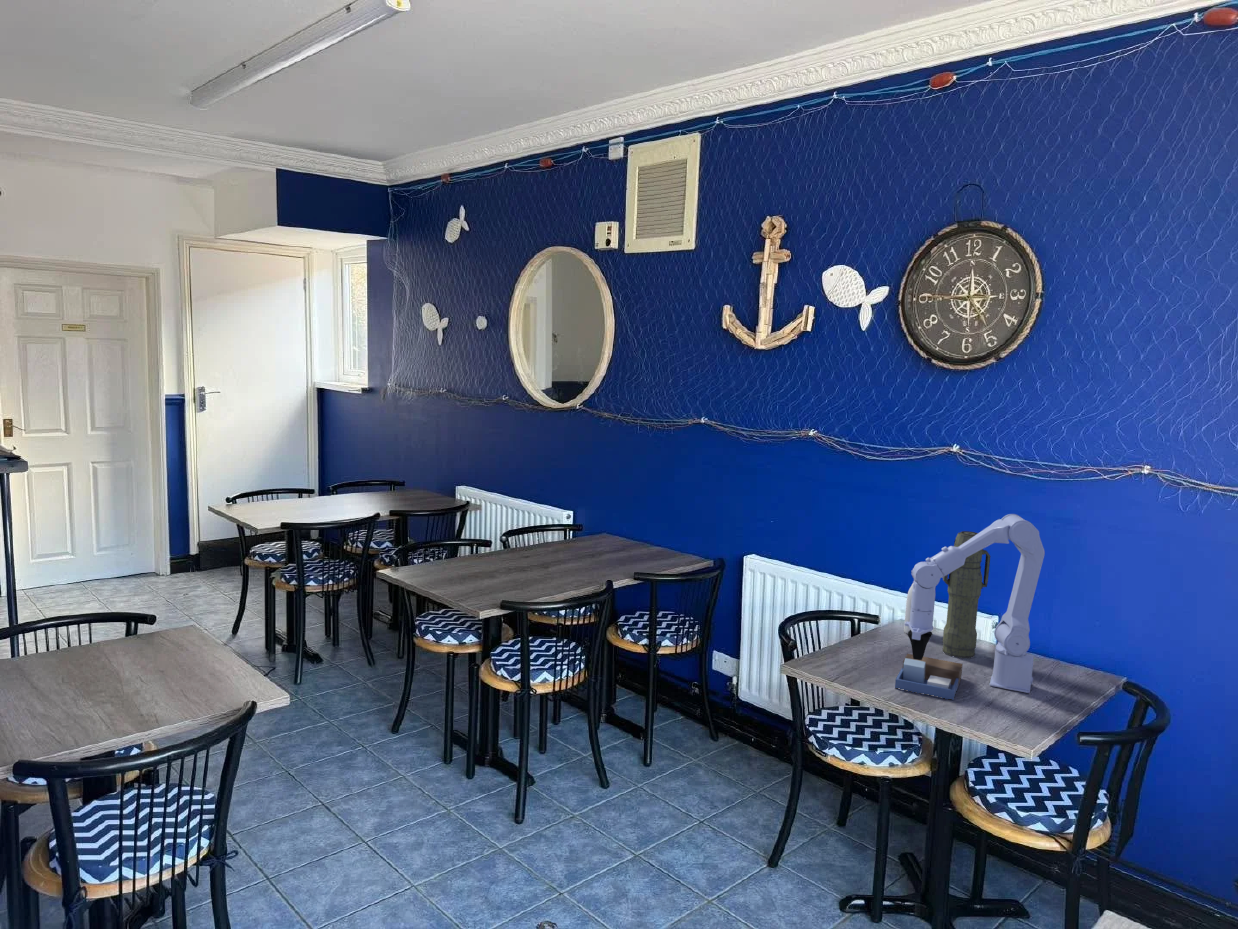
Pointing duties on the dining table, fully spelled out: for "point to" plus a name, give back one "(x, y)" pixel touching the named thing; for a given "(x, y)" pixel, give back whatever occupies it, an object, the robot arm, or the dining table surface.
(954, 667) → the brown rectangular block
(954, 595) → the thermos
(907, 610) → the milk bottle
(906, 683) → the tray
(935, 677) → the cream tile
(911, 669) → the blue tile
